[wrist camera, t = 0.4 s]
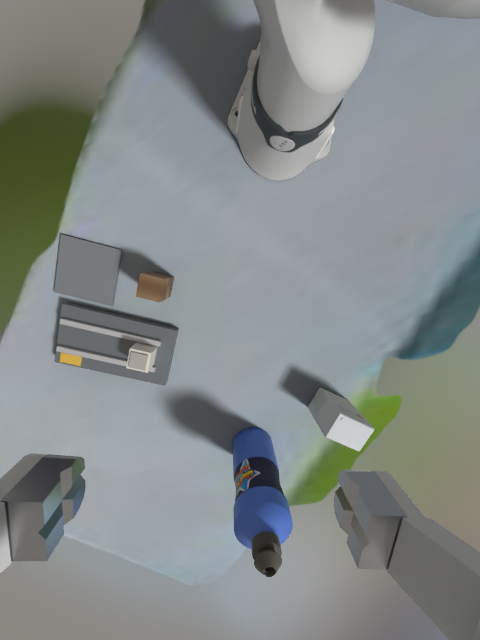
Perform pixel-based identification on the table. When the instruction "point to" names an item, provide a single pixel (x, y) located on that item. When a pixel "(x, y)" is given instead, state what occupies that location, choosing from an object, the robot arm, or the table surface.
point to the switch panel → (112, 342)
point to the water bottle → (259, 500)
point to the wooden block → (154, 286)
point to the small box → (340, 420)
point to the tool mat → (87, 270)
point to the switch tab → (141, 357)
